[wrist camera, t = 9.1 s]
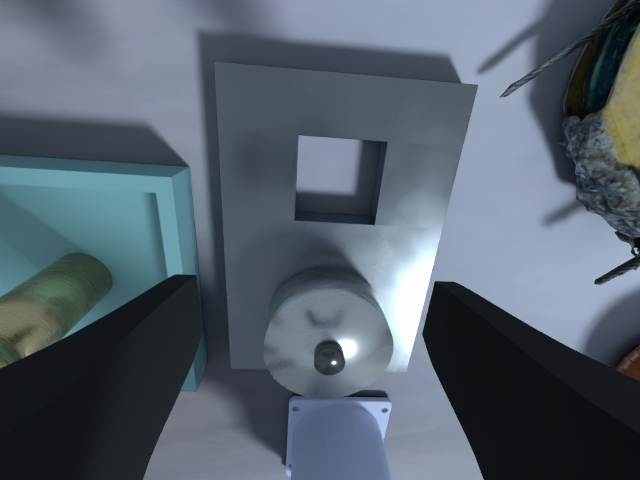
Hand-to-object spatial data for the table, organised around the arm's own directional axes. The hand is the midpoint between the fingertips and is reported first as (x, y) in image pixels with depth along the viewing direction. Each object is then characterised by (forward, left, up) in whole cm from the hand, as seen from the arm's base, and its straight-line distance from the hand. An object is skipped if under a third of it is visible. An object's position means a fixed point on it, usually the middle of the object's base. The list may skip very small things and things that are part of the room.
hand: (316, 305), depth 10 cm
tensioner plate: (-2, -1, -9) cm, 10 cm away
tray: (-5, +14, -9) cm, 17 cm away
